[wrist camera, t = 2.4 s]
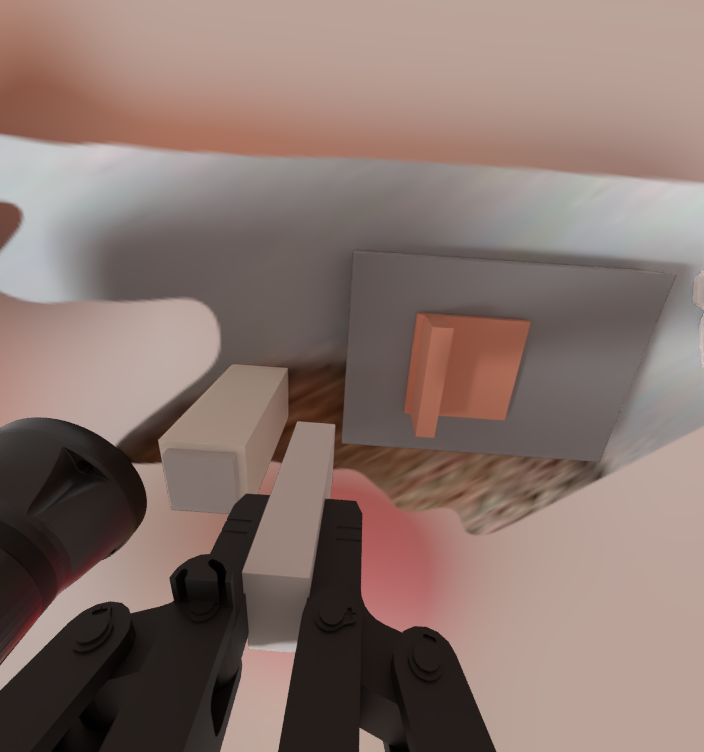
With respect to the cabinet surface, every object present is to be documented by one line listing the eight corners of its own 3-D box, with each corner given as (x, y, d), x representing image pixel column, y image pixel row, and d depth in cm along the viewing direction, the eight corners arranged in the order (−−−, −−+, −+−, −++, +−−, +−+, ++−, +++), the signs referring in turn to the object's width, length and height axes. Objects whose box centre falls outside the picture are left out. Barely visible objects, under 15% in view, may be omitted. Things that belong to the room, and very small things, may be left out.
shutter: (403, 409, 26) (409, 436, 22) (416, 312, 23) (425, 326, 20) (501, 416, 26) (521, 444, 22) (526, 320, 23) (554, 335, 20)
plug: (236, 413, 30) (164, 515, 19) (232, 364, 28) (151, 446, 17) (288, 416, 30) (246, 521, 19) (287, 367, 28) (241, 453, 17)
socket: (343, 423, 30) (341, 443, 27) (354, 250, 24) (352, 252, 22) (577, 440, 30) (599, 461, 27) (640, 269, 24) (676, 275, 22)
